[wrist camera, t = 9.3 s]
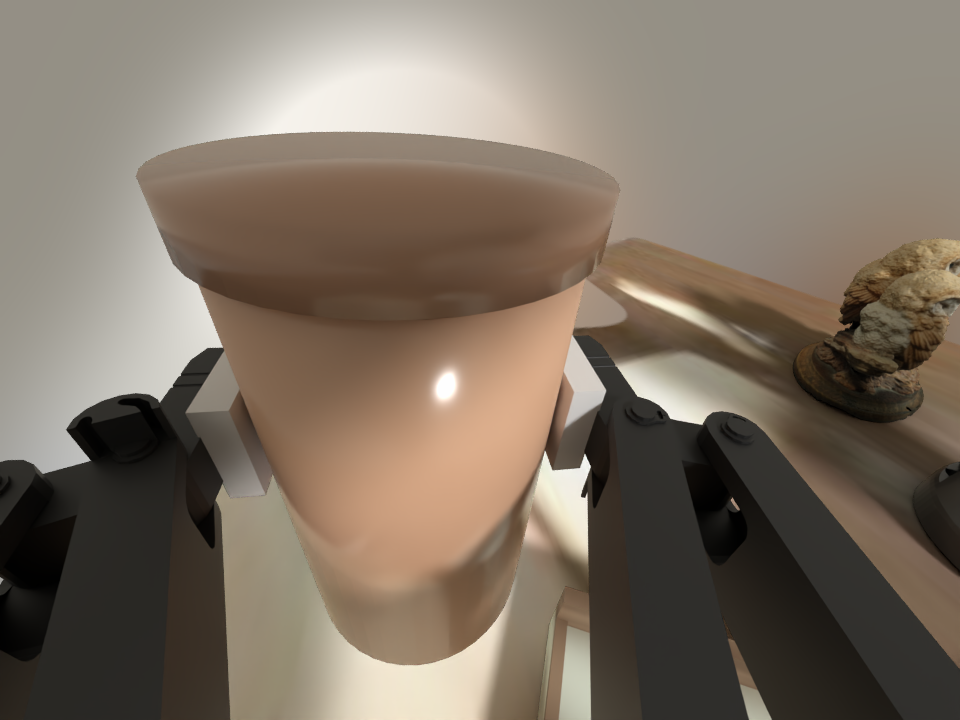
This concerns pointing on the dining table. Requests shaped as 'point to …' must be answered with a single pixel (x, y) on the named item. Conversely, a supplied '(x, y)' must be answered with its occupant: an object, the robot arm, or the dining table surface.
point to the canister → (393, 350)
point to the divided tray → (569, 665)
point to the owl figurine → (886, 332)
